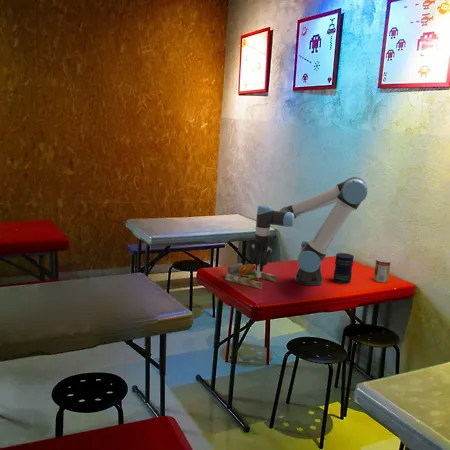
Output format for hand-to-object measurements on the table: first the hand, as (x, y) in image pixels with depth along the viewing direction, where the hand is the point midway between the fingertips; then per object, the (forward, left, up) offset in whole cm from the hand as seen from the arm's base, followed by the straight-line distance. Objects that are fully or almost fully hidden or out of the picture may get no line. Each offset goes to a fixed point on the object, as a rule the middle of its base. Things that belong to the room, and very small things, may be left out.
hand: (258, 276), depth 268 cm
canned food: (-51, -54, -3) cm, 75 cm away
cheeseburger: (+6, 0, -3) cm, 7 cm away
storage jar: (-34, -36, -3) cm, 50 cm away
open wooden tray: (+5, 0, -3) cm, 5 cm away
